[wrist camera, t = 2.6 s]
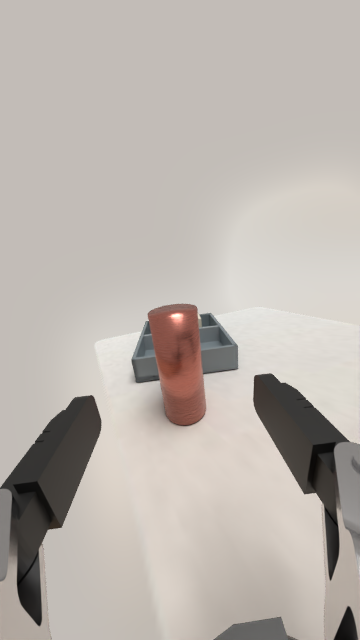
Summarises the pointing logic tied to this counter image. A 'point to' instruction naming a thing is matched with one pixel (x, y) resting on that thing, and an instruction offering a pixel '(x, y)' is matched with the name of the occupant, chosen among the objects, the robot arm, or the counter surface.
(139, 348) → the tray
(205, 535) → the counter surface
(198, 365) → the copper cylinder
